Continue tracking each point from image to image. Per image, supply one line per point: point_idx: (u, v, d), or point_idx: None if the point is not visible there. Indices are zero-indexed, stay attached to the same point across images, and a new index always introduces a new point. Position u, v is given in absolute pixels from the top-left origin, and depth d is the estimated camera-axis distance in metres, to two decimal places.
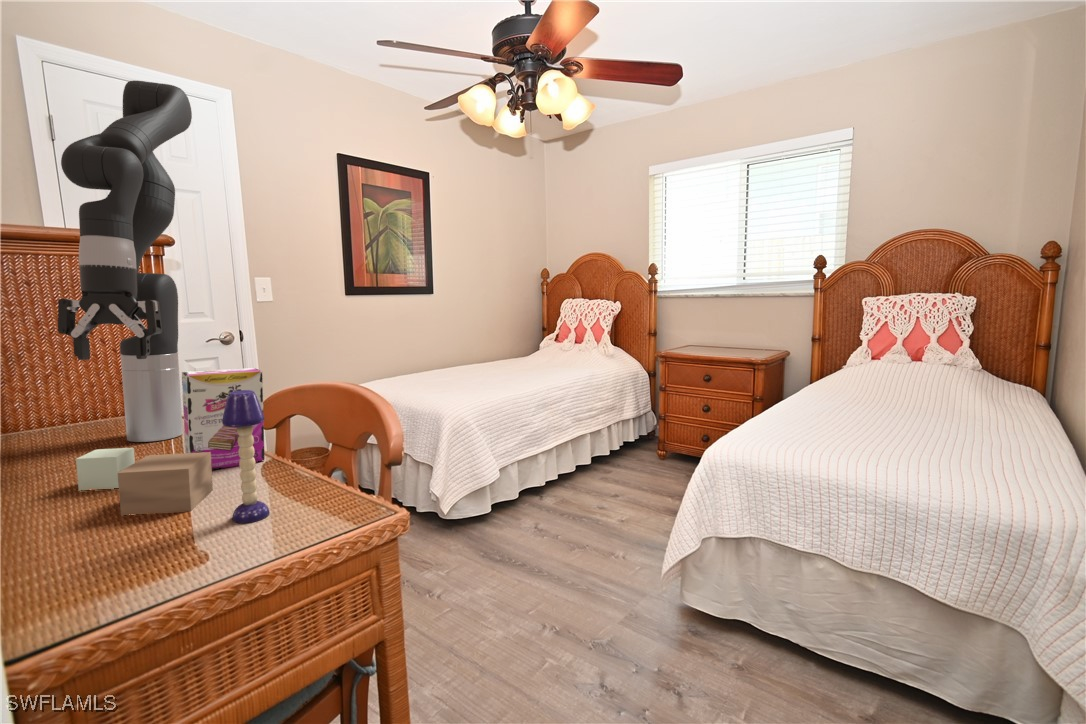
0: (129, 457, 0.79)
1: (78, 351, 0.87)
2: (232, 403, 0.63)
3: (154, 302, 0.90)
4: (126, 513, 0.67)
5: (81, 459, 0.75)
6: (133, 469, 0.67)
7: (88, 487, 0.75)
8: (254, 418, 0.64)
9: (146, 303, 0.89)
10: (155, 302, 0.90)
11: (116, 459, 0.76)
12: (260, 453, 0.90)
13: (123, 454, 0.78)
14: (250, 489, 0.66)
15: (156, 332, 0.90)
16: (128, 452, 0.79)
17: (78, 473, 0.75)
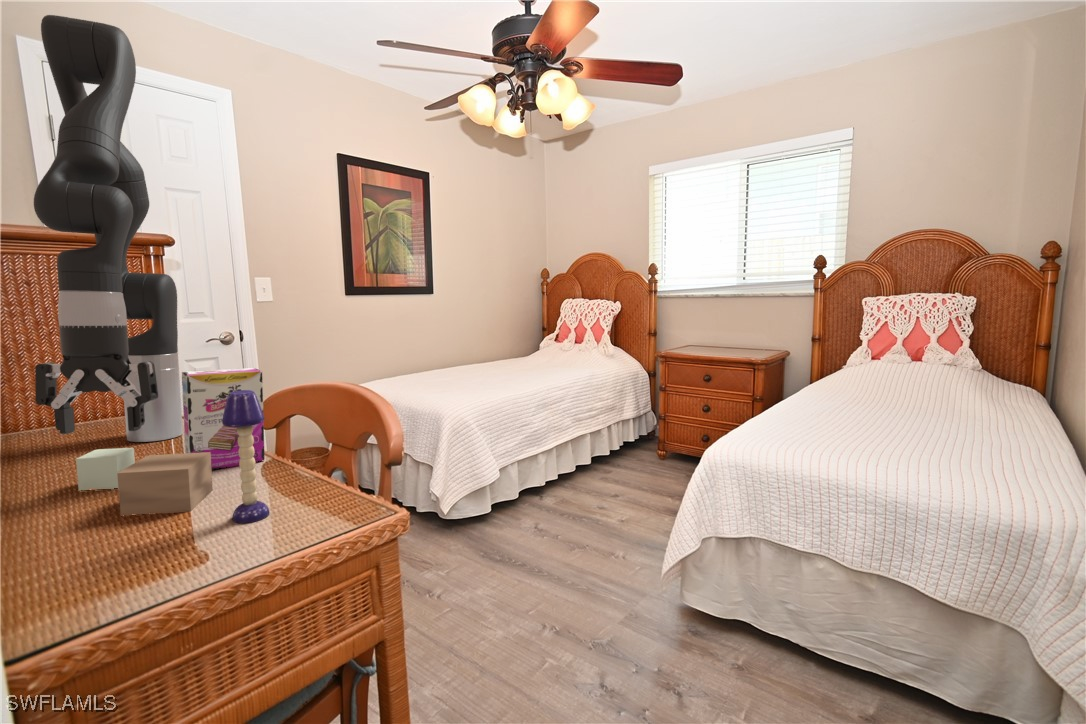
0: (129, 457, 0.79)
1: (60, 424, 0.74)
2: (232, 403, 0.63)
3: (148, 364, 0.77)
4: (126, 513, 0.67)
5: (81, 459, 0.75)
6: (133, 469, 0.67)
7: (88, 487, 0.75)
8: (254, 418, 0.64)
9: (139, 367, 0.76)
10: (149, 364, 0.77)
11: (116, 459, 0.76)
12: (260, 453, 0.90)
13: (123, 454, 0.78)
14: (250, 489, 0.66)
15: (151, 399, 0.77)
16: (128, 452, 0.79)
17: (78, 473, 0.75)
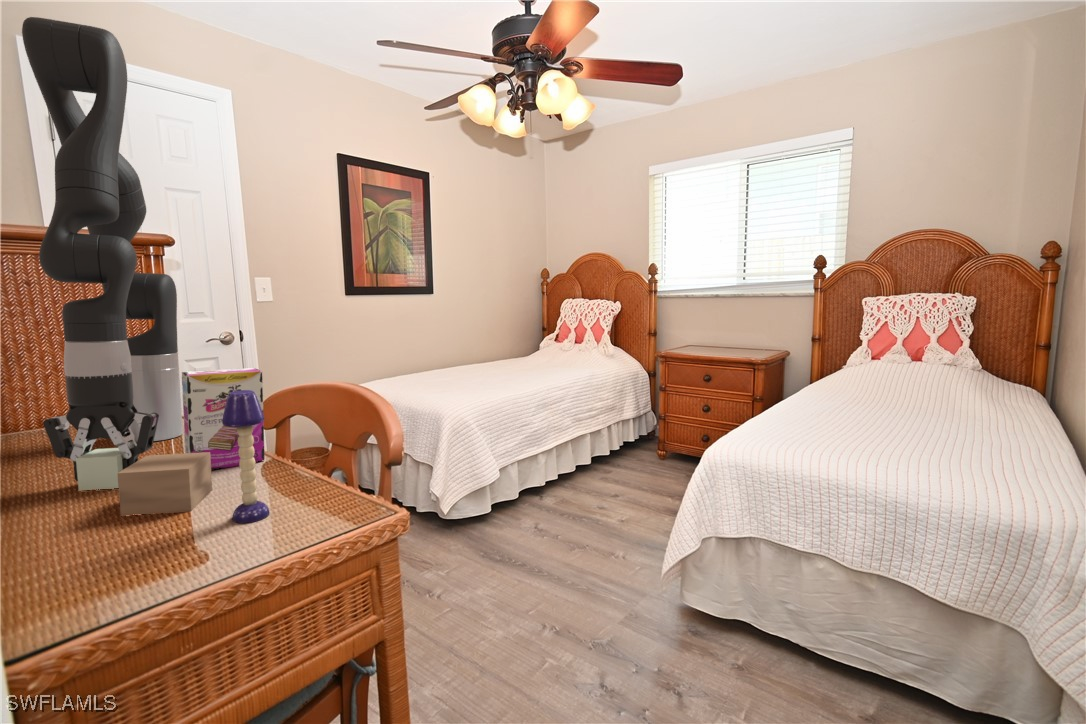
0: None
1: None
2: (232, 403, 0.63)
3: (153, 418, 0.78)
4: (126, 513, 0.67)
5: (81, 459, 0.75)
6: (133, 469, 0.67)
7: (88, 487, 0.75)
8: (254, 418, 0.64)
9: (144, 419, 0.77)
10: (154, 417, 0.79)
11: (116, 459, 0.76)
12: (260, 453, 0.90)
13: None
14: (250, 489, 0.66)
15: (145, 450, 0.78)
16: None
17: (78, 473, 0.75)
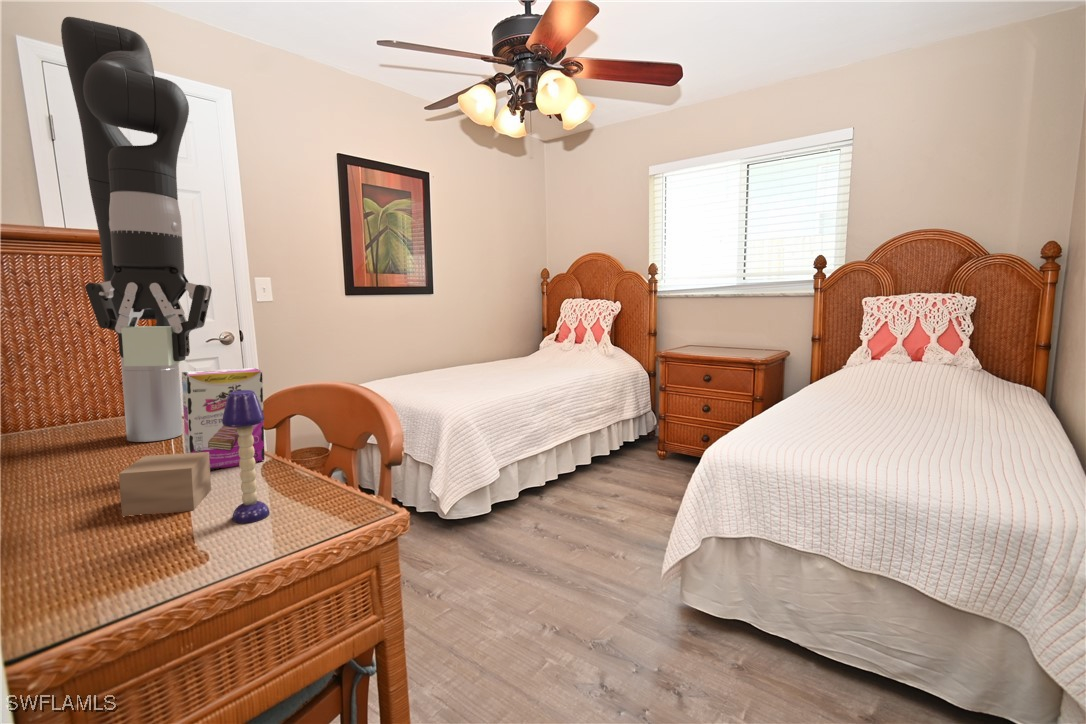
0: None
1: None
2: (232, 403, 0.63)
3: (206, 289, 0.69)
4: (127, 514, 0.67)
5: (127, 328, 0.66)
6: (134, 469, 0.67)
7: (134, 361, 0.66)
8: (254, 418, 0.64)
9: (196, 288, 0.68)
10: (207, 289, 0.70)
11: (165, 330, 0.67)
12: (260, 453, 0.90)
13: None
14: (250, 489, 0.66)
15: (197, 326, 0.69)
16: None
17: (124, 344, 0.66)
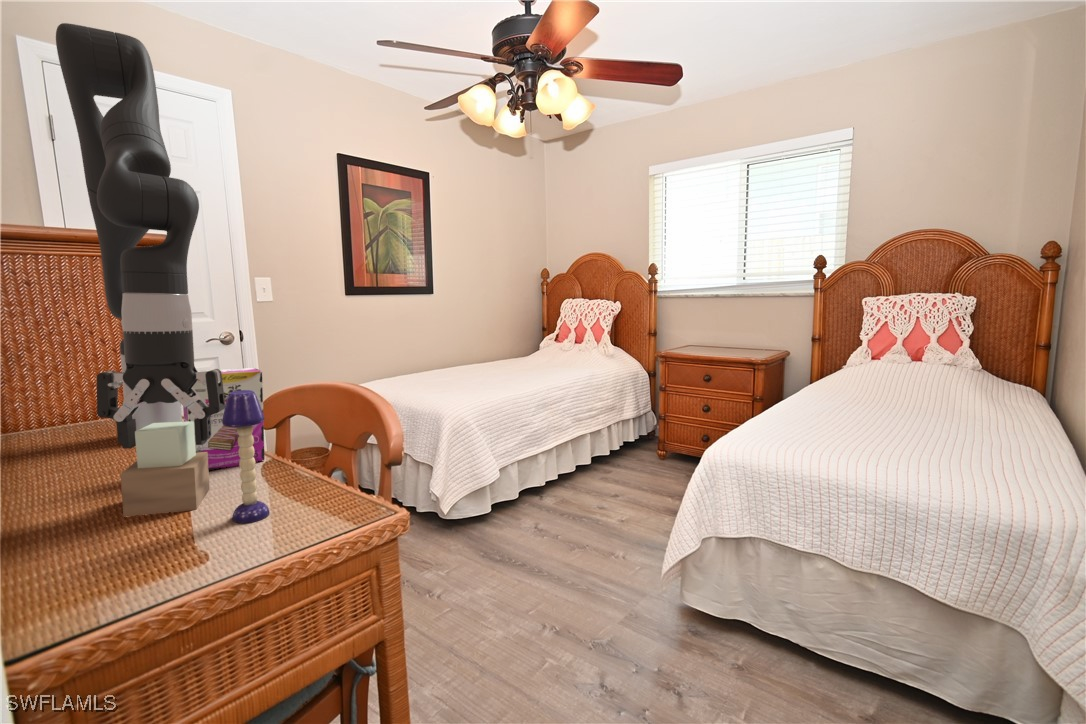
0: (189, 431, 0.72)
1: (123, 438, 0.68)
2: (232, 403, 0.63)
3: (216, 373, 0.71)
4: (129, 514, 0.66)
5: (140, 432, 0.68)
6: (135, 470, 0.67)
7: (148, 463, 0.68)
8: (254, 418, 0.64)
9: (207, 375, 0.70)
10: (217, 372, 0.71)
11: (177, 432, 0.69)
12: (260, 453, 0.90)
13: (184, 427, 0.70)
14: (250, 489, 0.66)
15: (219, 411, 0.71)
16: (188, 425, 0.72)
17: (137, 447, 0.68)
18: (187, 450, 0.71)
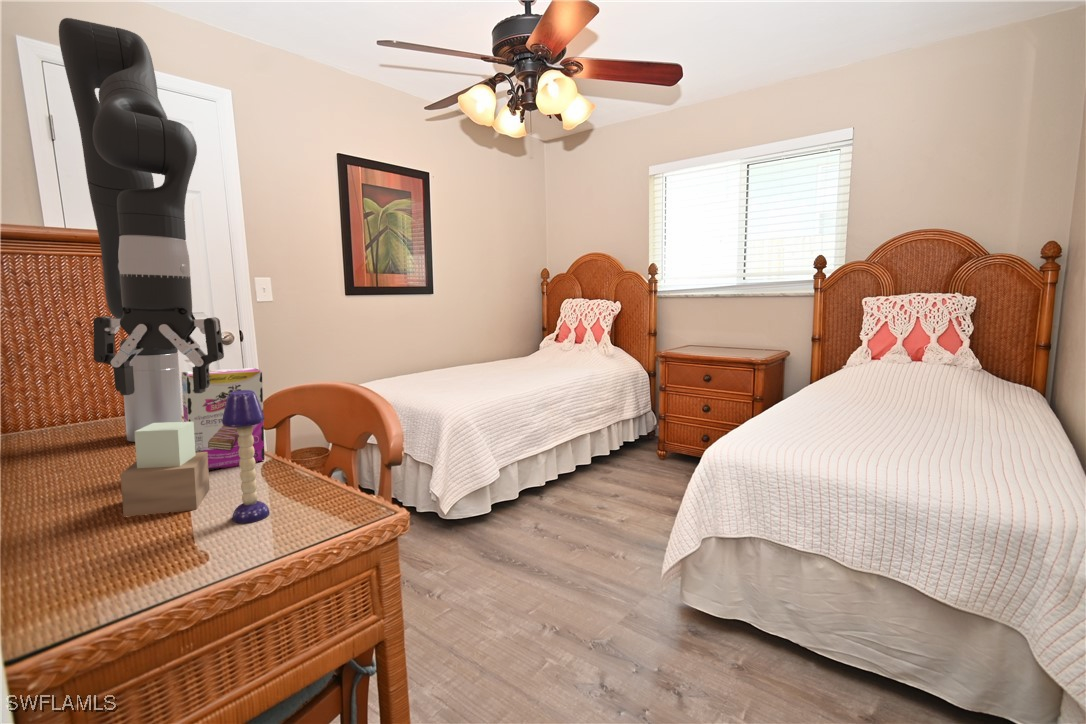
0: (189, 431, 0.72)
1: (121, 385, 0.68)
2: (232, 403, 0.63)
3: (215, 321, 0.70)
4: (129, 514, 0.66)
5: (140, 432, 0.68)
6: (135, 470, 0.67)
7: (147, 463, 0.68)
8: (254, 418, 0.64)
9: (205, 322, 0.69)
10: (216, 320, 0.70)
11: (177, 432, 0.69)
12: (260, 453, 0.90)
13: (184, 428, 0.70)
14: (250, 489, 0.66)
15: (218, 359, 0.71)
16: (188, 425, 0.72)
17: (137, 447, 0.68)
18: (186, 450, 0.71)
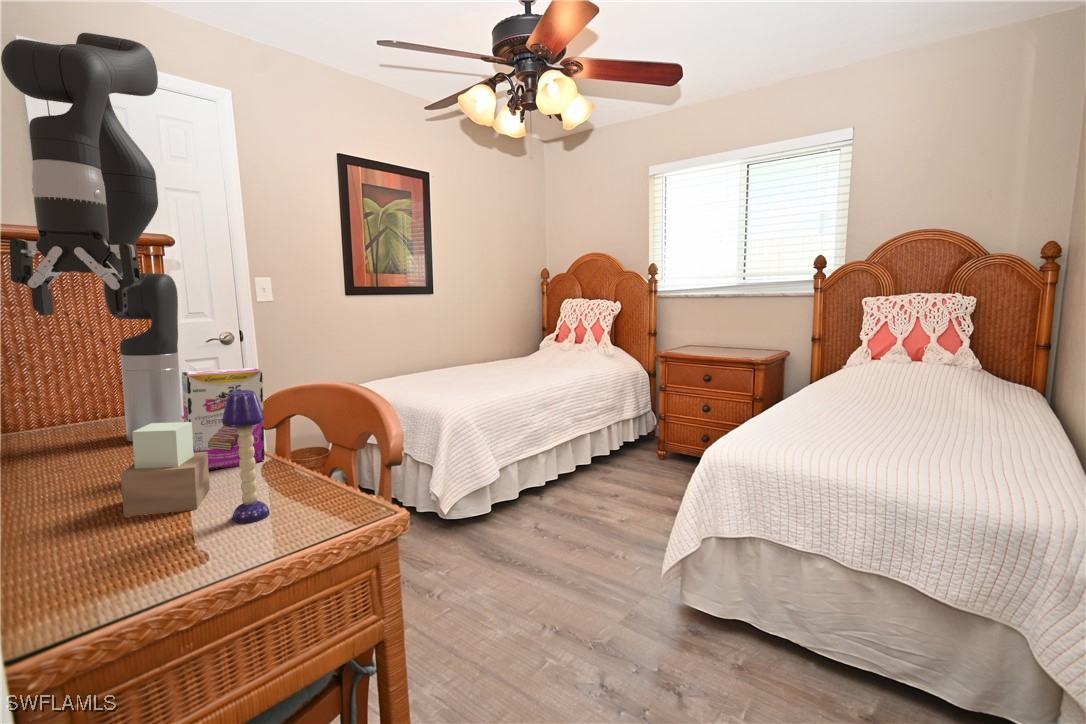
0: (187, 432, 0.72)
1: (38, 305, 0.71)
2: (232, 403, 0.63)
3: (130, 246, 0.74)
4: (129, 514, 0.66)
5: (138, 432, 0.67)
6: (135, 470, 0.67)
7: (145, 463, 0.68)
8: (254, 418, 0.64)
9: (120, 247, 0.73)
10: (131, 247, 0.74)
11: (175, 433, 0.68)
12: (260, 453, 0.90)
13: (182, 428, 0.70)
14: (250, 489, 0.66)
15: (134, 283, 0.75)
16: (186, 426, 0.72)
17: (134, 448, 0.67)
18: (184, 450, 0.71)
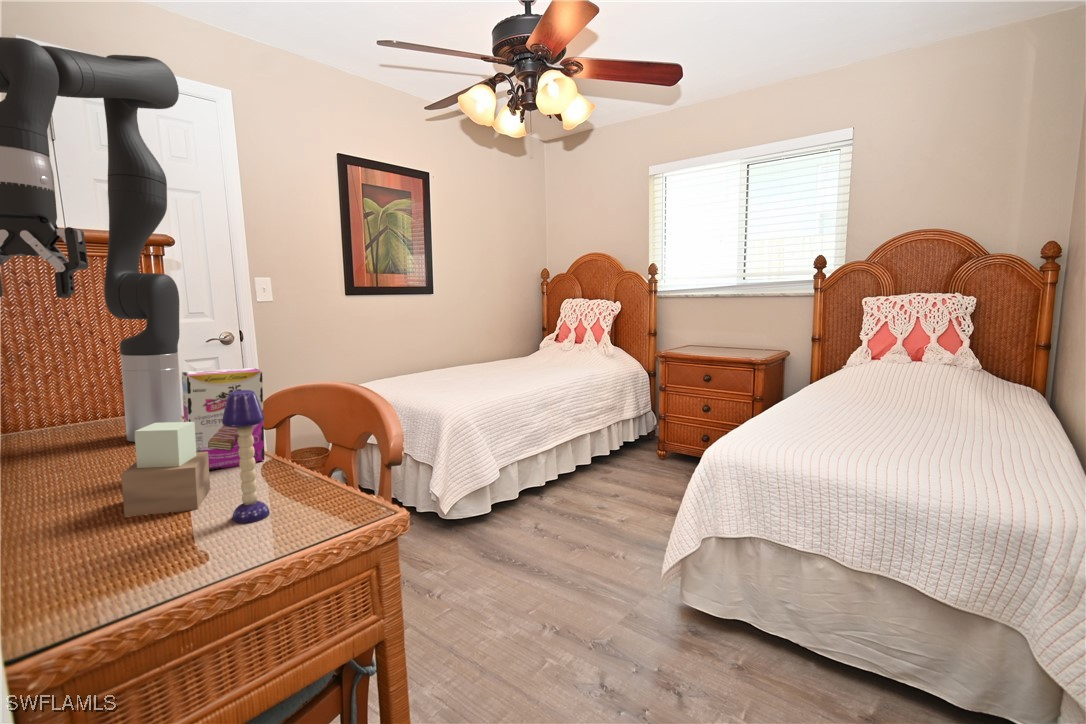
0: (190, 432, 0.72)
1: None
2: (232, 403, 0.63)
3: (76, 230, 0.76)
4: (130, 514, 0.66)
5: (140, 431, 0.68)
6: (136, 470, 0.67)
7: (147, 463, 0.68)
8: (254, 418, 0.64)
9: (66, 231, 0.76)
10: (78, 231, 0.77)
11: (176, 432, 0.68)
12: (260, 453, 0.90)
13: (184, 428, 0.70)
14: (250, 489, 0.66)
15: (80, 266, 0.77)
16: (188, 426, 0.72)
17: (137, 447, 0.68)
18: (186, 450, 0.71)
